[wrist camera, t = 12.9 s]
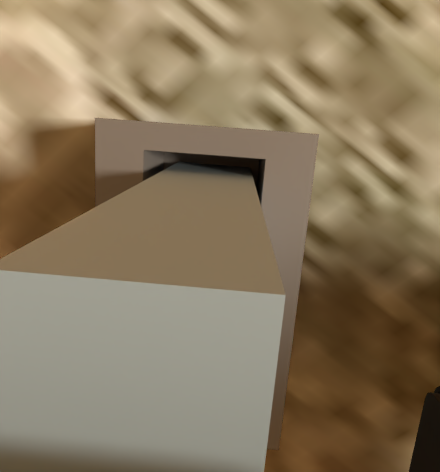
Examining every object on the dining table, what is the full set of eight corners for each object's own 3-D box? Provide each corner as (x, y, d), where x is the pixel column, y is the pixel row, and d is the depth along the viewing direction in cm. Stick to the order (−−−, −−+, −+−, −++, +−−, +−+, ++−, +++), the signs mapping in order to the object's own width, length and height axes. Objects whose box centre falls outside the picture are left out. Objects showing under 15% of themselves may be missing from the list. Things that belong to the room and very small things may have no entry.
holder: (297, 132, 18) (319, 134, 13) (269, 376, 21) (278, 450, 16) (133, 120, 18) (95, 117, 13) (128, 364, 21) (96, 433, 16)
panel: (250, 167, 18) (285, 295, 4) (232, 357, 20) (217, 848, 6) (179, 161, 18) (-18, 268, 4) (169, 352, 20) (22, 825, 6)
